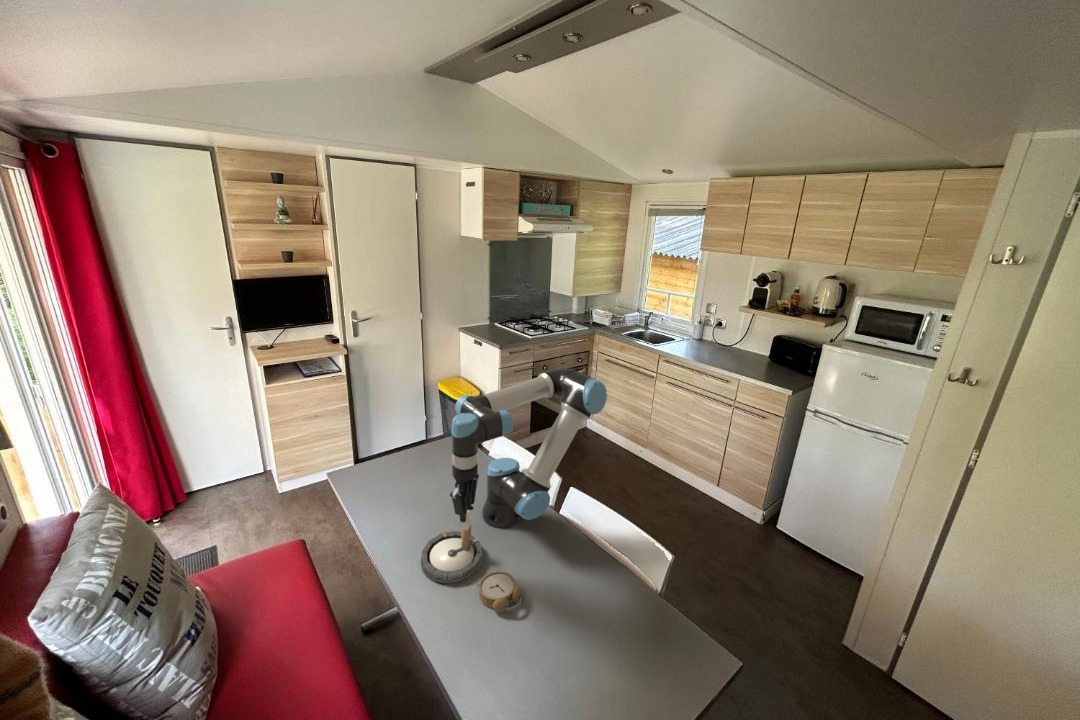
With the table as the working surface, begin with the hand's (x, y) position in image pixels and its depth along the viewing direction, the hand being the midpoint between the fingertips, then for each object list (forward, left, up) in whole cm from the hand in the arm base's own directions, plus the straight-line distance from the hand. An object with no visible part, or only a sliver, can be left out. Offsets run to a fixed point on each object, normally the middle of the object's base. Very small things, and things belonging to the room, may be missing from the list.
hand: (465, 527), depth 138 cm
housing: (+4, -4, -15) cm, 16 cm away
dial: (+4, -4, -14) cm, 15 cm away
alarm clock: (-9, +15, -16) cm, 23 cm away
